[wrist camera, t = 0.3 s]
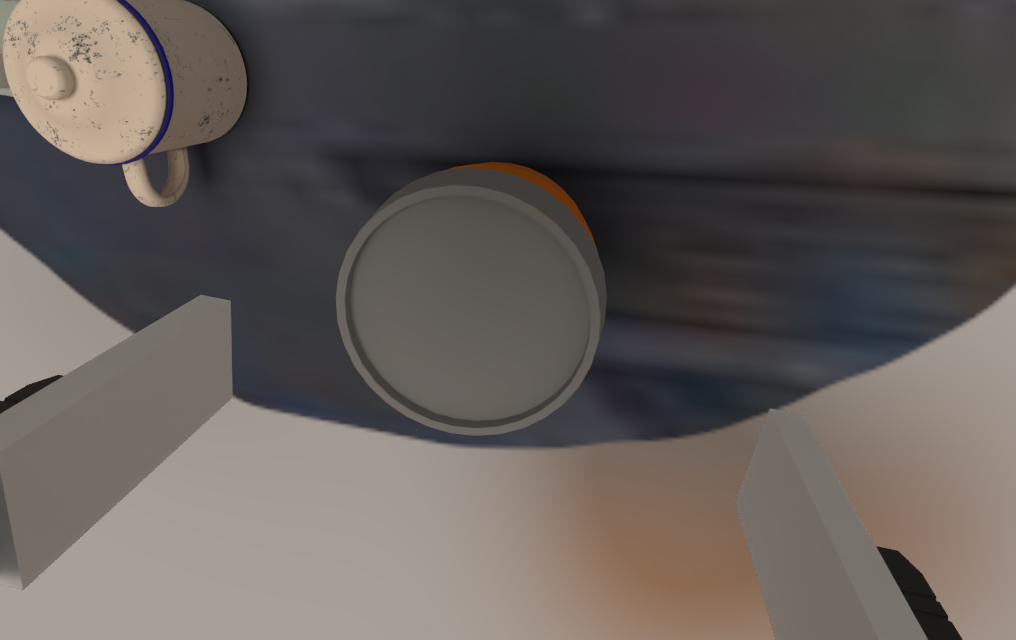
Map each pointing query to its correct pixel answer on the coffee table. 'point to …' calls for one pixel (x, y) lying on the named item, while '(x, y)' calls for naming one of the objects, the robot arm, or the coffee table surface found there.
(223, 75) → the teacup with lid
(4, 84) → the domino
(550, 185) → the reusable coffee cup
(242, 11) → the coffee table surface
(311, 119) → the coffee table surface
